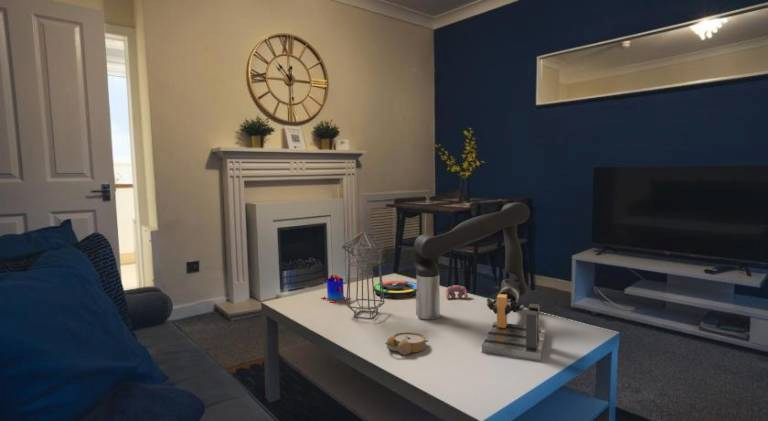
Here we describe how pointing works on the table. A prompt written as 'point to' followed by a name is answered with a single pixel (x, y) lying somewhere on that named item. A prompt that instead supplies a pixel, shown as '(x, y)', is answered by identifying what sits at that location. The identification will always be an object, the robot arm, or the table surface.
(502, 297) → the orange rectangular block
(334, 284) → the fantasy tower
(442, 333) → the table surface
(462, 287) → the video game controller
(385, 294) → the electronic game
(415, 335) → the alarm clock
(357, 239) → the geometric lantern
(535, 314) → the grey slotted base
